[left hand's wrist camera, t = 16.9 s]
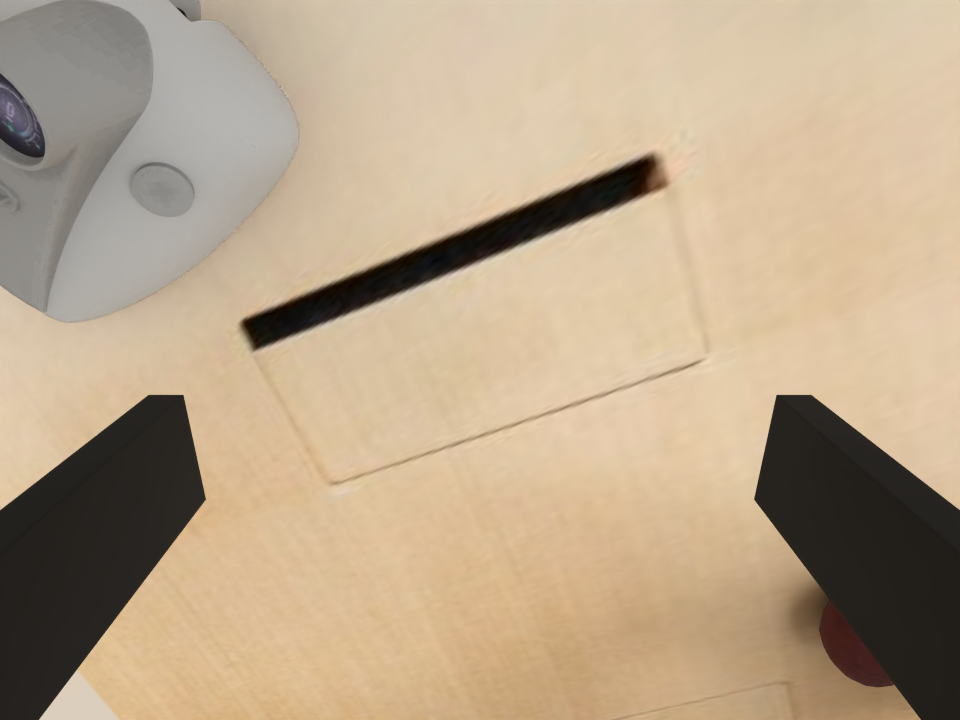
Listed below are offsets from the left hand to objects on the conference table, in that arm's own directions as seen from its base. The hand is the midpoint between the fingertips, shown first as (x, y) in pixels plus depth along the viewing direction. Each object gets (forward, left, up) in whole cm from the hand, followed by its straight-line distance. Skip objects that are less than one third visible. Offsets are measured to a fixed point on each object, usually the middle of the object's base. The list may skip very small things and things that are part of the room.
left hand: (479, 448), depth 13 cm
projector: (+1, -23, -29) cm, 37 cm away
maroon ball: (+23, +41, -29) cm, 55 cm away
